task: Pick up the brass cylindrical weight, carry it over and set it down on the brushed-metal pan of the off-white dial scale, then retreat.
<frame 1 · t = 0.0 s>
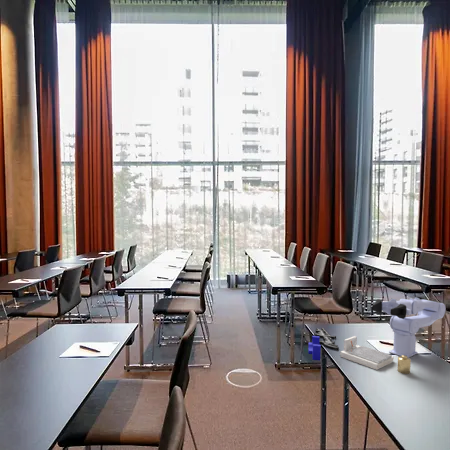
hand: (381, 309, 148), 22 cm above the table, tool horizontal, fingers open, 7 cm apart
scale base: (366, 359, 153), on the table
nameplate: (326, 340, 176), on the table
blue stepped block: (313, 355, 157), on the table
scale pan: (370, 354, 152), point 3 cm above the table, slide at -0.6 cm
brass weight: (403, 371, 142), on the table
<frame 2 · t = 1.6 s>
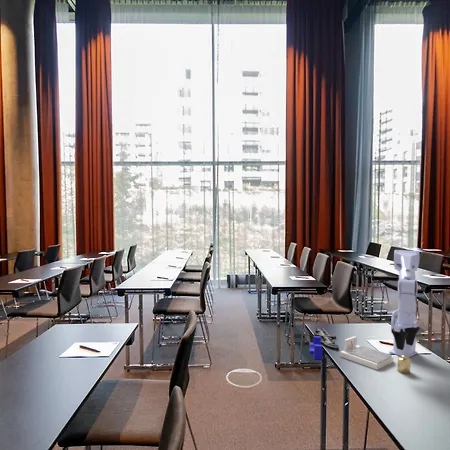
hand: (404, 346, 142), 9 cm above the table, tool pointing down, fingers open, 7 cm apart
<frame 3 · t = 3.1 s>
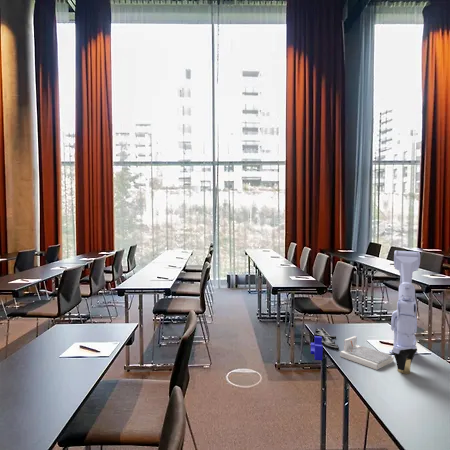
hand: (403, 367, 142), 1 cm above the table, tool pointing down, fingers closed on brass weight, 4 cm apart
brass weight: (403, 371, 142), on the table, touching gripper
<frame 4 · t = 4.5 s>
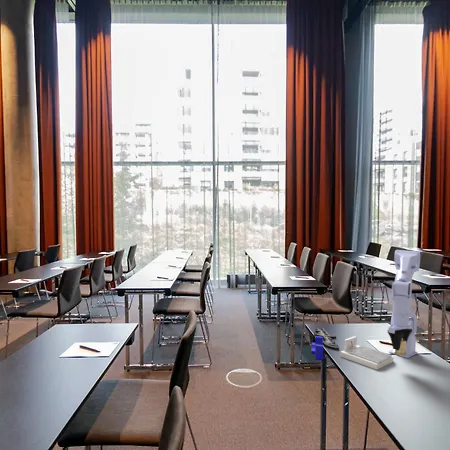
hand: (399, 348, 143), 8 cm above the table, tool pointing down, fingers closed on brass weight, 4 cm apart
brass weight: (399, 353, 143), point 6 cm above the table, touching gripper
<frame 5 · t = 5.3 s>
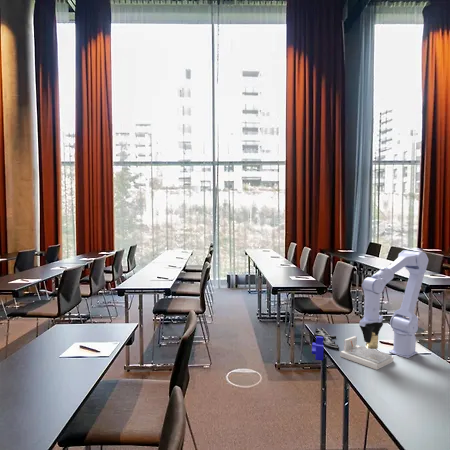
hand: (370, 340, 152), 8 cm above the table, tool pointing down, fingers closed on brass weight, 4 cm apart
brass weight: (371, 347, 151), point 6 cm above the table, touching gripper
when the fingers open (6 cm above the table, at t = 6.0 s): brass weight stays where it is, resting on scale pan.
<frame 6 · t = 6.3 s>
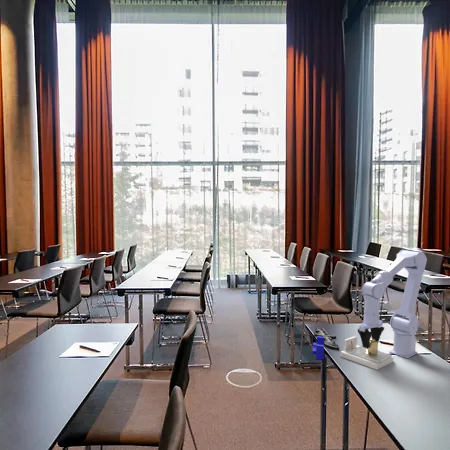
hand: (370, 345, 152), 6 cm above the table, tool pointing down, fingers open, 7 cm apart
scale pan: (370, 354, 152), point 3 cm above the table, slide at -0.7 cm, touching brass weight
brass weight: (371, 353, 152), point 3 cm above the table, touching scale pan
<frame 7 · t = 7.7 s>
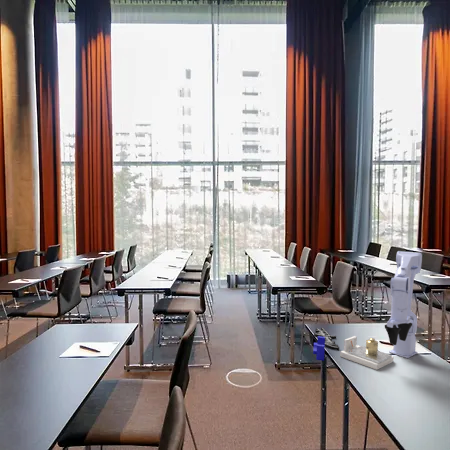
hand: (397, 342, 147), 9 cm above the table, tool pointing down, fingers open, 7 cm apart
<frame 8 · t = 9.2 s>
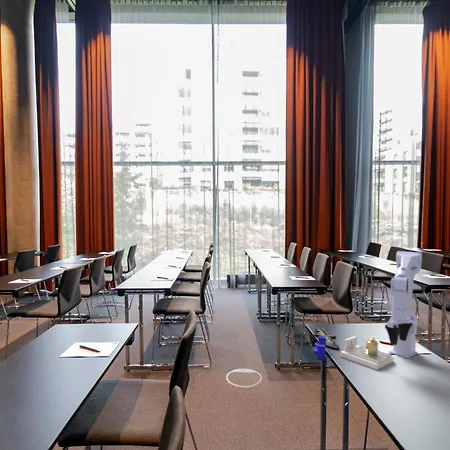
hand: (398, 342, 147), 9 cm above the table, tool pointing down, fingers open, 7 cm apart
at the end: brass weight inside the target area on the scale base (0.7 cm from its centre), point 2.9 cm above the scale base's base; the gripper is holding nothing; brass weight tilted 0° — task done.
